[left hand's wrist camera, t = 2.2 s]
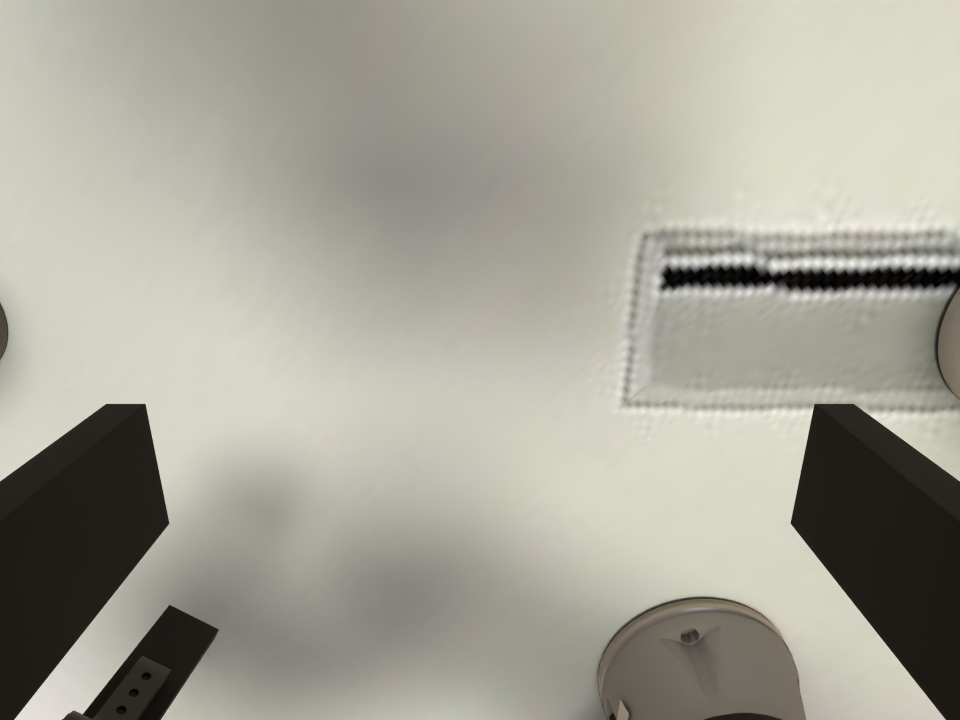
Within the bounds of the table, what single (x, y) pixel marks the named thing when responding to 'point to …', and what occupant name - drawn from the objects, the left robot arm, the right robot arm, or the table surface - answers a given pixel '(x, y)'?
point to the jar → (2, 332)
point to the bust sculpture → (951, 345)
